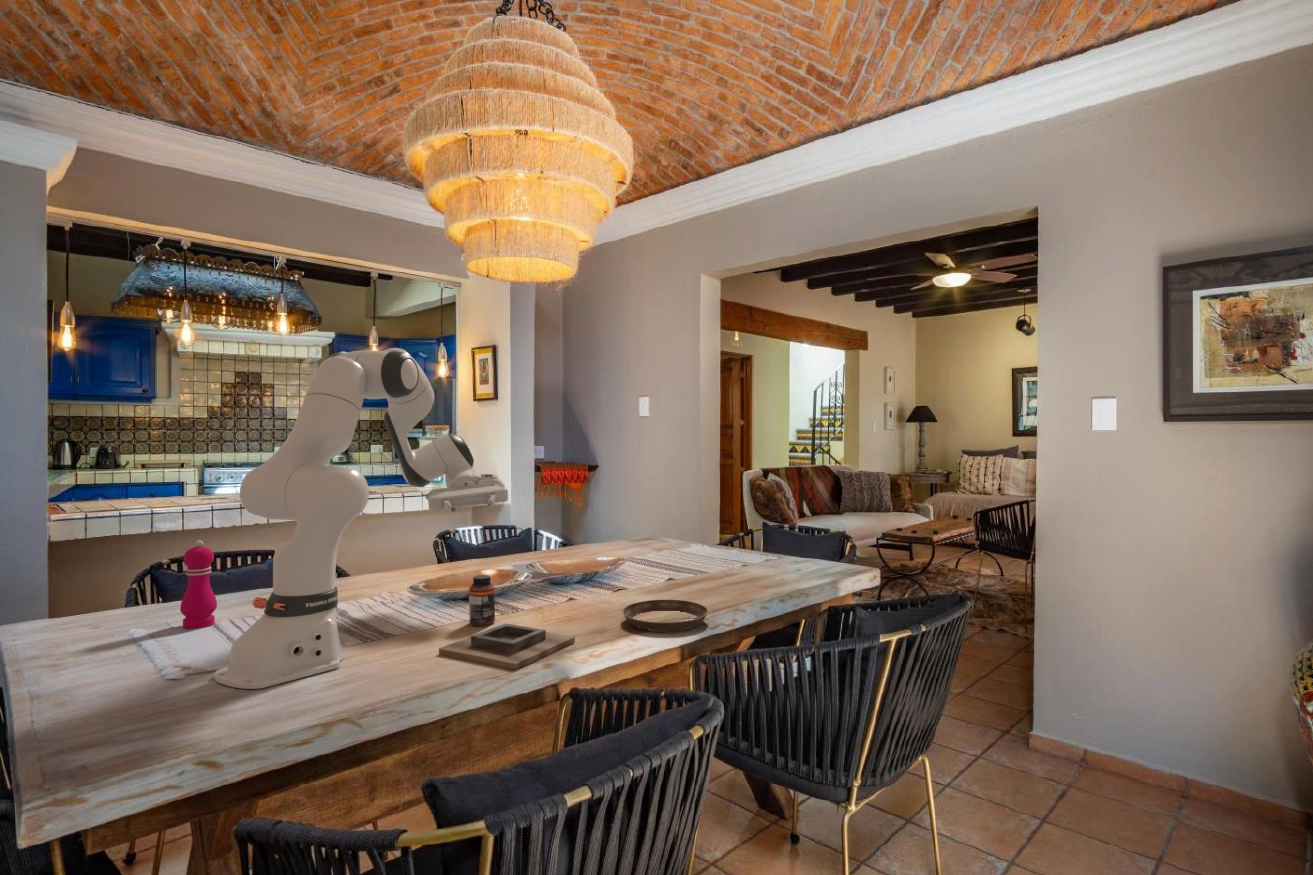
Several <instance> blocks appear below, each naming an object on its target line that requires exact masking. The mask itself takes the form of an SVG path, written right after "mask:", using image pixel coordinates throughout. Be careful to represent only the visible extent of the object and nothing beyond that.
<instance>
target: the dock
mask: <svg viewBox="0 0 1313 875" xmlns="http://www.w3.org/2000/svg"><path fill="white" fill-rule="evenodd" d="M546 630H547V629H541V628H536V627H528V626H524V625H523V626H522V625H517V624H513V623H503V624H500V625H496V626H495V627H492V628H489V629H486V630H484V631H482V632H478V633H476V634H473V635H471V636H468V637H465V638H463V639H461V640H458V641H455V642H452V643H449V644H447V645H444V646H442V647H439V648H438V654H439V655H440V656H447V657H449V658H450V657H451V658H456V659H459V660H460V659H461V660H466V661H471V662H475V663H480V664H485V665H489V666H494V667H499V668H504V669H510V670H514V671H517V670H519V669H521V668H523V667H526V666H528V665H529V664H533V663H534V662H536V661H538V660H540V659H543V658H544V657H547V656H549V655H552V654H554V653H556V652H557V650H558V651H560V650H562V649H564V648H566V647H568V646H570V645H572V644H574V642H575V641H576V640H575V639H576V637H575V636H571V635H566V634H559V633H554V632H548V631H546ZM559 649H560V650H559Z"/></svg>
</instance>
